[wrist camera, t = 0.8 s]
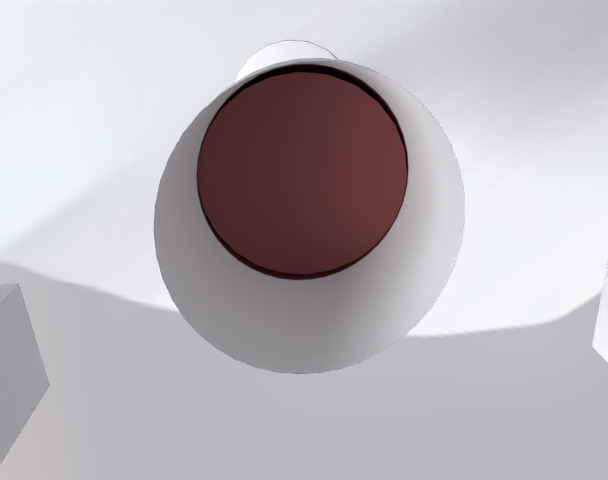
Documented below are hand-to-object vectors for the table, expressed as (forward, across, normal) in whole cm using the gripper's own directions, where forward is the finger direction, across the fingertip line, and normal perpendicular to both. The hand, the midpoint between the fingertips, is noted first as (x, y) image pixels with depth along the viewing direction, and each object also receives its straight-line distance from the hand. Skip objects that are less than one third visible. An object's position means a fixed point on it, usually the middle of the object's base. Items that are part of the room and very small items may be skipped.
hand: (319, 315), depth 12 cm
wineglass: (+27, 0, 0) cm, 27 cm away
